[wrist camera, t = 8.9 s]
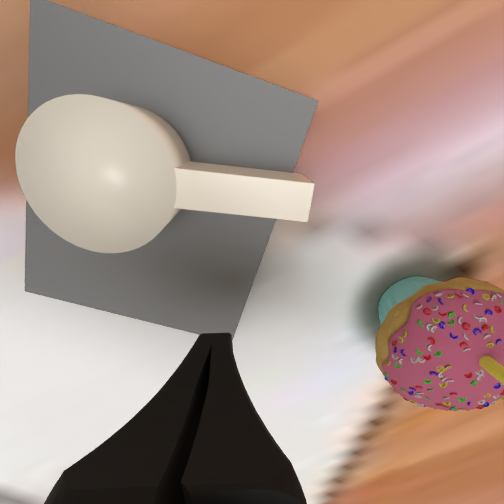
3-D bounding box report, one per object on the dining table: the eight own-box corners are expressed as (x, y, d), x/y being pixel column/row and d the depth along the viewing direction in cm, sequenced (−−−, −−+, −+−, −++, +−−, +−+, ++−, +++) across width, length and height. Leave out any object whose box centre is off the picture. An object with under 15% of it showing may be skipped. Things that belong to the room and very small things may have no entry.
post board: (40, 280, 20) (12, 299, 18) (51, 7, 14) (12, -18, 12) (232, 329, 22) (230, 352, 19) (312, 103, 16) (323, 98, 14)
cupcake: (351, 262, 20) (483, 428, 8) (478, 241, 19) (798, 389, 8) (355, 357, 23) (456, 569, 12) (465, 342, 22) (678, 548, 11)
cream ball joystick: (79, 221, 15) (30, 246, 12) (64, 97, 13) (-2, 83, 10) (288, 242, 16) (299, 271, 13) (308, 126, 14) (328, 123, 10)
